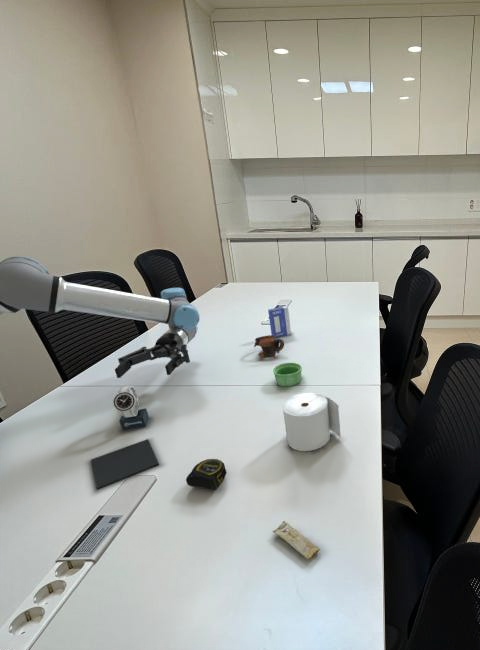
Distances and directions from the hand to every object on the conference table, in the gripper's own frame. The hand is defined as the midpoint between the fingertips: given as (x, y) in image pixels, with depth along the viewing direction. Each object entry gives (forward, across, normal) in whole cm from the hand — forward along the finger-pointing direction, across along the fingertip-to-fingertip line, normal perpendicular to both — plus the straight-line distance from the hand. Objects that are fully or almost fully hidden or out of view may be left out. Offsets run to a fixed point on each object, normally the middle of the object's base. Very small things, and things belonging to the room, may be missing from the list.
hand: (142, 372), depth 108 cm
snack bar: (+52, -46, -11) cm, 71 cm away
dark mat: (+26, -5, -11) cm, 28 cm away
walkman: (-52, -31, -11) cm, 61 cm away
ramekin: (-10, -38, -11) cm, 41 cm away
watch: (+10, 0, -11) cm, 15 cm away
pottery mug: (-33, -29, -11) cm, 45 cm away
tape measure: (+35, -27, -11) cm, 45 cm away
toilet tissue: (+21, -47, -11) cm, 53 cm away
